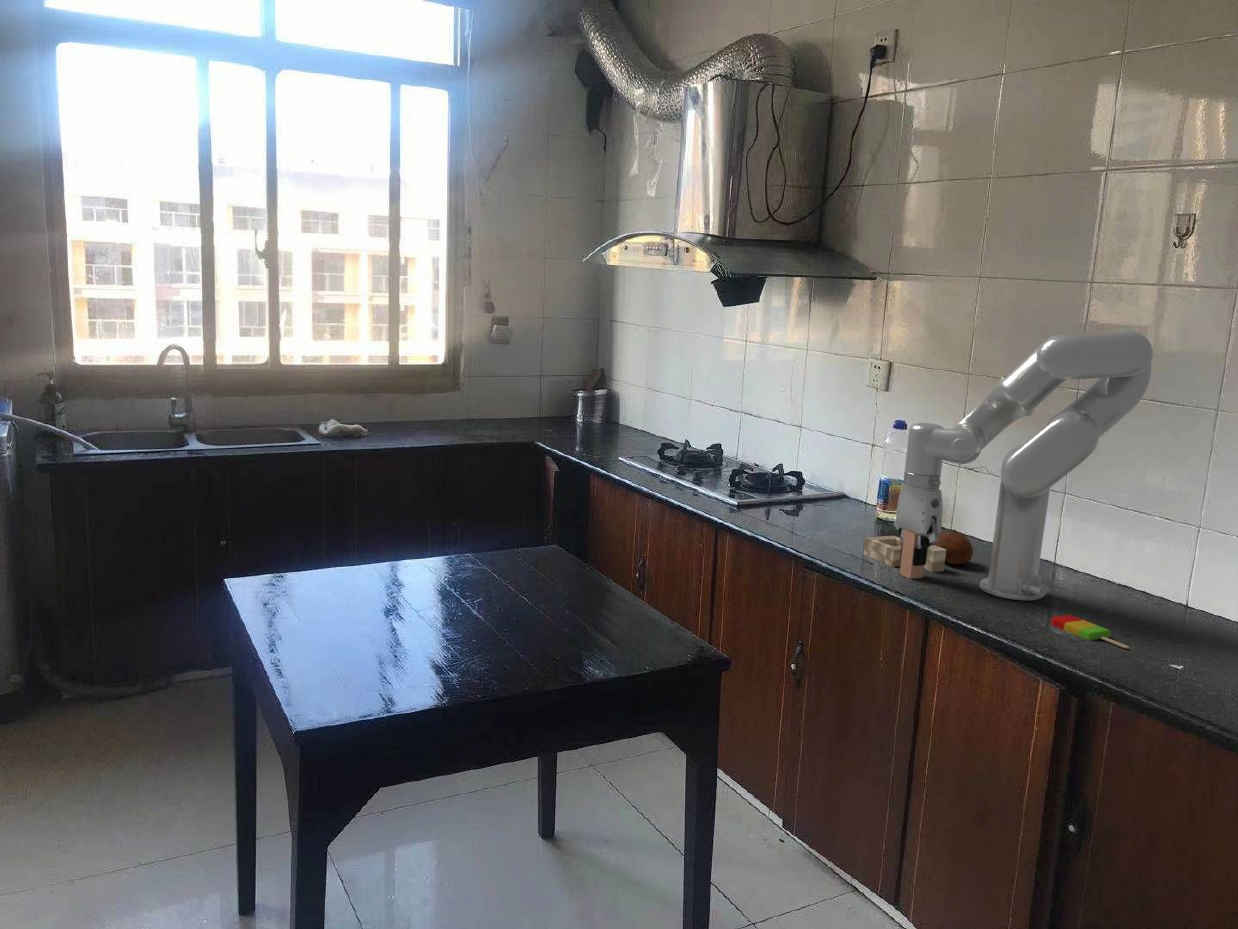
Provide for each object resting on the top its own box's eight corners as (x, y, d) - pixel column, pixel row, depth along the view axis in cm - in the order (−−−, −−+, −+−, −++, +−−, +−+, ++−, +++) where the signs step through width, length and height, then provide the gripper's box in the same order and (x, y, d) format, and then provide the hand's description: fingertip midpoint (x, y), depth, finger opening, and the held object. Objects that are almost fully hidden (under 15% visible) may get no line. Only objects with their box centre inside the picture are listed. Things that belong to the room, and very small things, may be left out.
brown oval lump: (951, 555, 232) (955, 525, 231) (983, 568, 223) (986, 537, 221) (922, 557, 229) (925, 526, 228) (953, 570, 220) (956, 538, 218)
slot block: (921, 564, 223) (923, 547, 223) (892, 566, 220) (894, 549, 219) (892, 551, 233) (894, 535, 232) (863, 554, 229) (865, 537, 229)
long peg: (922, 577, 213) (928, 524, 211) (910, 578, 212) (915, 525, 209) (912, 572, 216) (917, 520, 214) (899, 574, 215) (905, 521, 212)
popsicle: (1067, 622, 189) (1069, 613, 189) (1137, 650, 176) (1138, 640, 176) (1047, 625, 187) (1049, 616, 187) (1116, 654, 174) (1118, 644, 173)
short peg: (943, 571, 219) (946, 549, 218) (931, 572, 218) (933, 550, 217) (933, 566, 222) (935, 545, 221) (920, 567, 221) (923, 546, 220)
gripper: (962, 488, 204) (952, 572, 207) (910, 472, 219) (901, 551, 222) (934, 489, 201) (924, 574, 204) (883, 473, 216) (875, 553, 219)
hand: (912, 561), depth 213 cm, fingers closed on long peg, 3 cm apart
